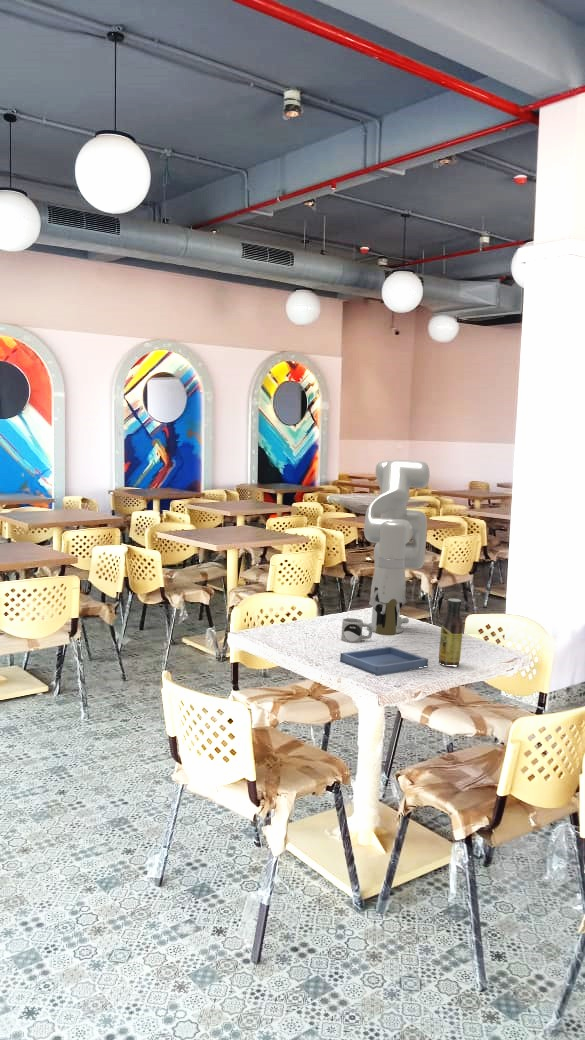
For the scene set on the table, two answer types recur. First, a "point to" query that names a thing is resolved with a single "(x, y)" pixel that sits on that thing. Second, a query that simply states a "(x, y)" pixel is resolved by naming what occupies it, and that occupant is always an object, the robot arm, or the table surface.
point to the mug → (354, 630)
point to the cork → (388, 620)
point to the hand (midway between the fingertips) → (386, 625)
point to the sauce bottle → (451, 634)
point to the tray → (383, 660)
